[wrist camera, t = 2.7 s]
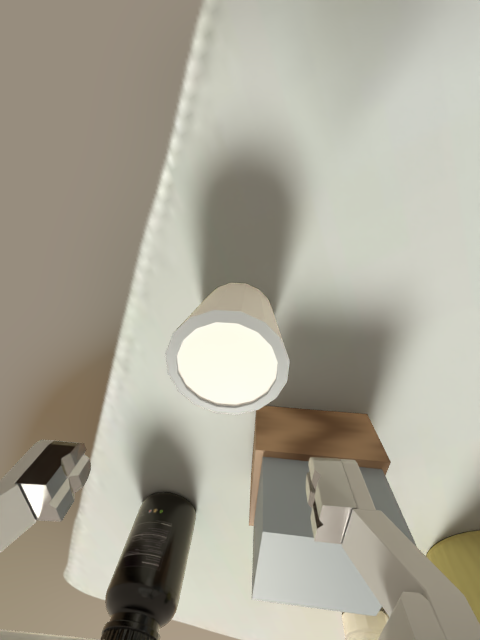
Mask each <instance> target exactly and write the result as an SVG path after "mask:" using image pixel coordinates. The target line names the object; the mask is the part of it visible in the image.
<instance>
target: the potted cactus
mask: <svg viewBox="0 0 480 640" xmlns="http://www.w3.org/2000/svg"><path fill="white" fill-rule="evenodd" d="M426 557H427V558H428V559H429V560H430V561H431V562H432V563H433V564H434V565H435V566H436V567H437V568H438V569H439V570H440V571H441V572H442V573H443V574H444V575H445V576H446V577H447V578H448V579H449V580H450V581H451V582H452V583H453V584H454V585H455V586H456V587H457V588H458V589H459V590H460V592H461V593H462V594H463V595H464V596H465V597H466V599H467V601H468V603H469V605H470V607H471V609H472V611H473V613H474V614H475V616H476V618H477V620H478V622H479V624H480V531H471V532H465V533H461V534H457V535H454V536H451V537H448V538H446V539H444V540H442V541H440V542H438V543H437V544H436V545H434V546H433V547H432V548H431V549H430V550H429V552H428V553H427V555H426Z"/></svg>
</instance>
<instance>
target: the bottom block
mask: <svg viewBox="0 0 480 640" xmlns="http://www.w3.org/2000/svg"><path fill="white" fill-rule="evenodd" d="M263 457H272V458H281V459H290V460H300V461H309V459H310V457H318V458H338V459H349V460H355V461H356V462H357V464H358V466H359V467H365V468H375V469H382V470H383V472H384V474H385V475H386V472H387V470H388V468H389V465H390V463H391V462H390V460H389V458H388V456H387V454H386V452H385V450H384V448H383V445H382V443H381V441H380V439H379V437H378V435H377V433H376V431H375V429H374V427H373V425H372V423H371V421H370V419H369V417H368V415H367V414H359V413H347V412H335V411H322V410H310V409H298V408H286V407H273V406H263V407H262V408H260V409H259V410H256V420H255V432H254V445H253V458H252V471H251V490H250V514H249V525H250V526H254V518H255V511H256V503H257V496H258V488H259V480H260V473H261V465H262V458H263Z"/></svg>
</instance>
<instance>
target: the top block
mask: <svg viewBox="0 0 480 640" xmlns="http://www.w3.org/2000/svg"><path fill="white" fill-rule="evenodd" d="M308 463H309V461H300V460H290V459H281V458H272V457H263V458H262V465H261V473H260V480H259V488H258V496H257V503H256V511H255V518H254V535H253V573H252V600H258V601H265V602H273V603H280V604H288V605H295V606H302V607H310V608H317V609H325V610H332V611H340V612H347V613H355V614H362V615H370V616H376V615H377V614H378V612H379V611H380V609H381V607H382V606H381V604H380V603H379V601H378V600H377V598H376V597H375V595H374V594H373V592H372V591H371V589H370V588H369V586H368V585H367V583H366V582H365V580H364V579H363V577H362V576H361V574H360V573H359V571H358V570H357V568H356V567H355V565H354V564H353V562H352V561H351V559H350V558H349V556H348V555H347V553H346V552H345V550H344V549H343V548H342V544H333V543H324V542H315V541H314V536H313V531H312V525H311V519H310V517H311V512H312V508H311V507H310V506H309V505H308V502H307V495H306V475H307V473H308V472H309V465H308ZM359 469H360V471H361V474H362V476H363V479H364V481H365V484H366V486H367V489H368V491H369V494H370V496H371V499H372V501H373V504H374V506H375V509H376V510H379V511H382V512H383V513H384V514H385V515H386V516H387V517H388V518H389V519H390V520H391V521H392V523H393V524H394V525H395V526H396V527H397V528H398V529H399V530H400V531H401V532H402V533H403V534H404V535H405V536H406V537H407V538H408V539H409V540H410V541H411V542H412V543H413V544H414V545H415V546H416V544H415V542H414V540H413V537H412V535H411V533H410V531H409V528H408V526H407V524H406V522H405V519H404V517H403V515H402V513H401V510H400V508H399V506H398V504H397V501H396V499H395V497H394V495H393V492H392V490H391V488H390V486H389V483H388V481H387V479H386V477H385V474H384V472H383V470H382V469H375V468H365V467H359ZM416 547H417V546H416Z"/></svg>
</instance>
